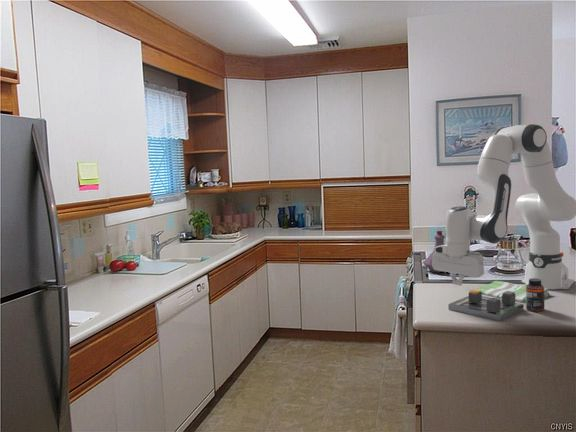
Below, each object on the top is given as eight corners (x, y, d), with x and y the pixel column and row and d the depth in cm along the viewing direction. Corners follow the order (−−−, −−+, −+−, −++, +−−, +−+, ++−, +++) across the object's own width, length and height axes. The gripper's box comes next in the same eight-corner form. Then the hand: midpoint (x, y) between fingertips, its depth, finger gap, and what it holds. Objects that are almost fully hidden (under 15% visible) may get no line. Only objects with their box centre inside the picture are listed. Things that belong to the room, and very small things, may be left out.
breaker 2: (507, 301, 179) (507, 290, 179) (515, 302, 177) (515, 292, 176) (502, 303, 177) (502, 293, 176) (510, 305, 174) (510, 294, 174)
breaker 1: (492, 308, 172) (492, 297, 172) (500, 309, 170) (500, 298, 170) (486, 310, 170) (486, 299, 169) (494, 312, 168) (494, 301, 167)
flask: (456, 267, 245) (455, 228, 243) (459, 275, 229) (458, 233, 227) (422, 267, 249) (421, 228, 247) (423, 274, 234) (422, 234, 231)
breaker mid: (474, 299, 184) (474, 289, 183) (481, 300, 181) (481, 290, 181) (468, 301, 181) (468, 291, 181) (476, 303, 179) (476, 292, 178)
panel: (472, 299, 191) (472, 293, 191) (523, 309, 176) (523, 303, 176) (448, 309, 181) (448, 303, 180) (500, 321, 165) (500, 315, 165)
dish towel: (528, 305, 182) (528, 296, 181) (473, 293, 200) (473, 285, 200) (550, 296, 192) (550, 287, 191) (495, 285, 210) (495, 277, 210)
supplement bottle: (538, 306, 178) (538, 276, 177) (547, 311, 172) (548, 280, 171) (522, 307, 178) (522, 277, 177) (531, 312, 172) (531, 281, 171)
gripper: (487, 251, 178) (487, 287, 180) (439, 245, 194) (439, 278, 195) (478, 253, 174) (478, 291, 176) (429, 247, 190) (430, 281, 191)
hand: (457, 284), depth 186 cm, fingers closed
